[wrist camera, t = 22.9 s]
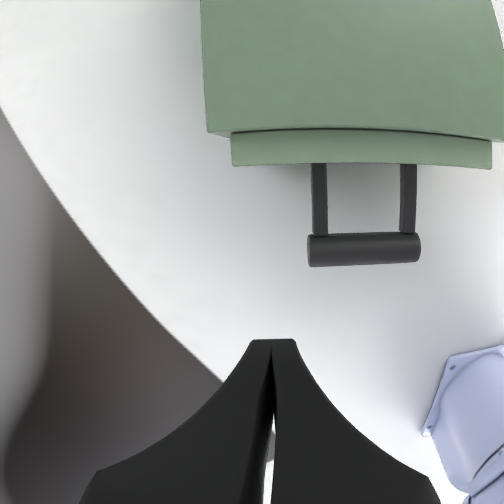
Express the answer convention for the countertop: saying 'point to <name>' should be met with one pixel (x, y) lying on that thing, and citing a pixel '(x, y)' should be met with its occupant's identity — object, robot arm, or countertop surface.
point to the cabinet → (353, 66)
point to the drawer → (360, 151)
